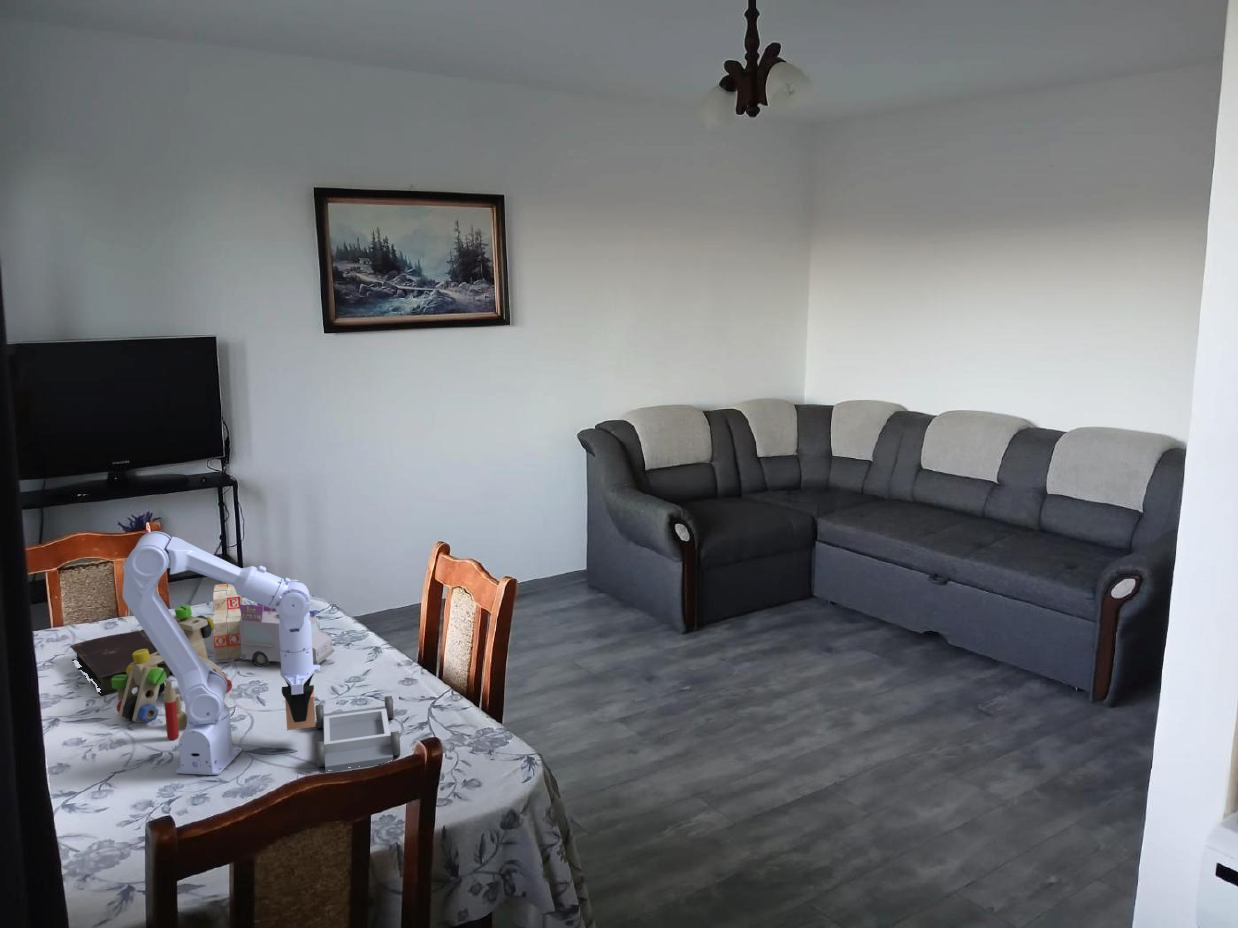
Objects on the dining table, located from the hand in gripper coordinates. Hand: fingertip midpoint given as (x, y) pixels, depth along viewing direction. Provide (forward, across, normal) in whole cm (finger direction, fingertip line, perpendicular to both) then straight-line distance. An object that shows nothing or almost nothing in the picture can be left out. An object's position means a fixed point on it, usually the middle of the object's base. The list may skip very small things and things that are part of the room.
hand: (300, 714), depth 178 cm
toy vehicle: (+7, +44, +4) cm, 44 cm away
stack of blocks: (+7, +61, +18) cm, 63 cm away
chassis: (+7, 0, -10) cm, 12 cm away
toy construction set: (+7, +24, +25) cm, 35 cm away
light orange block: (+2, 0, 0) cm, 2 cm away
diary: (+8, +51, +39) cm, 65 cm away
